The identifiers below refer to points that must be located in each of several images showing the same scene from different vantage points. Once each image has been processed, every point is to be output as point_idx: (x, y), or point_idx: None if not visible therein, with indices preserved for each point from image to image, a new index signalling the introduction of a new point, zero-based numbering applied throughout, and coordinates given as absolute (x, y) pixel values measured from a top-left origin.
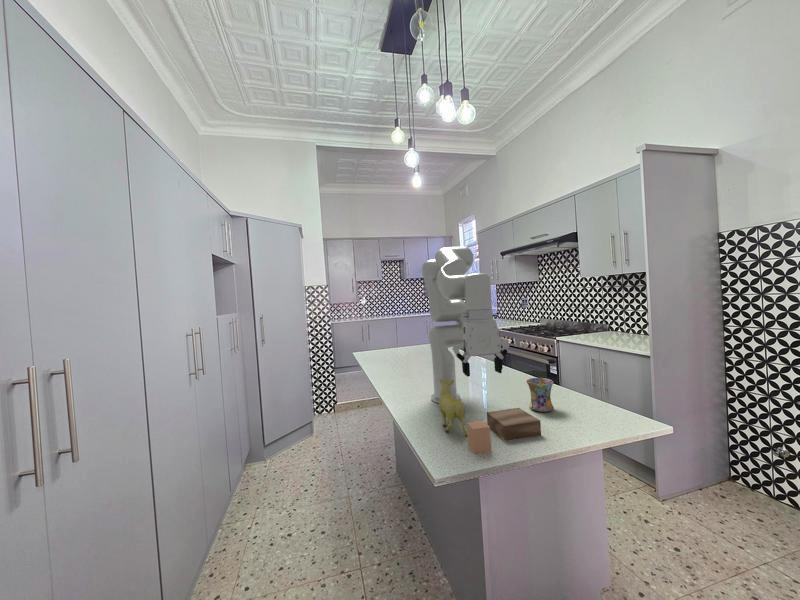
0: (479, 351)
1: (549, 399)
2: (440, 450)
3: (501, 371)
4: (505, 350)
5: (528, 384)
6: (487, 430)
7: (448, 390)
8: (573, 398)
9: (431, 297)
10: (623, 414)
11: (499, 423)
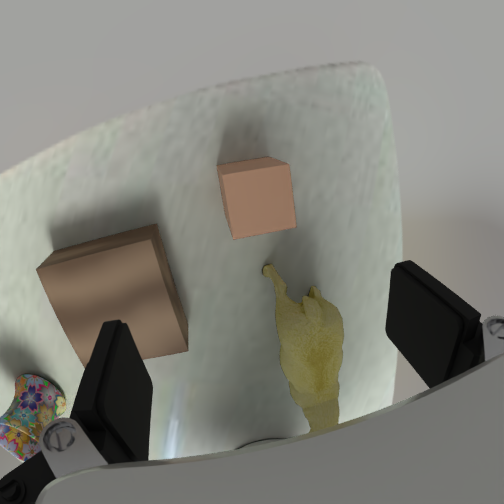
0: (481, 424)
1: (14, 398)
2: (354, 188)
3: (103, 326)
4: (7, 500)
5: None
6: (231, 171)
7: (319, 415)
8: None
9: None
10: None
11: (161, 271)
